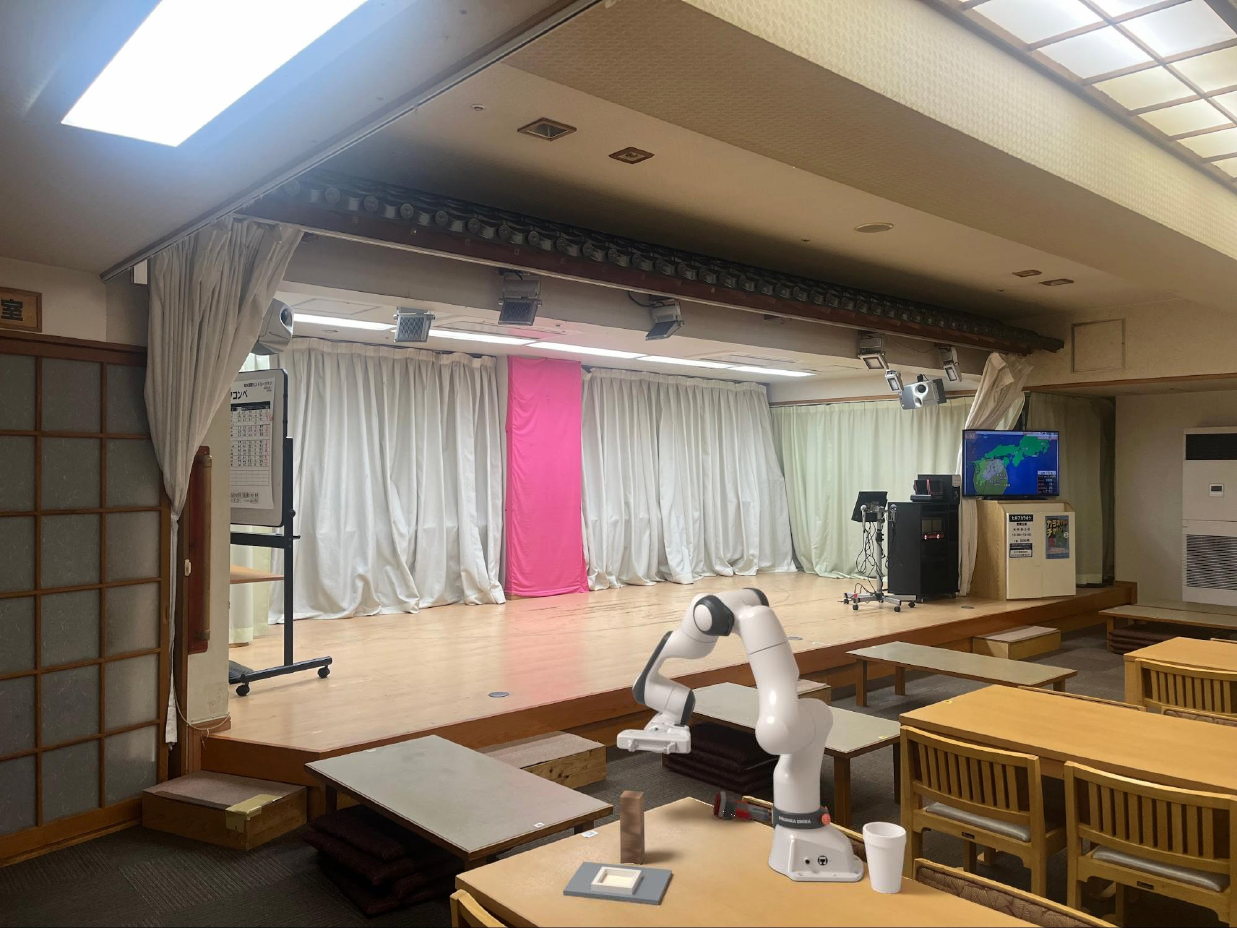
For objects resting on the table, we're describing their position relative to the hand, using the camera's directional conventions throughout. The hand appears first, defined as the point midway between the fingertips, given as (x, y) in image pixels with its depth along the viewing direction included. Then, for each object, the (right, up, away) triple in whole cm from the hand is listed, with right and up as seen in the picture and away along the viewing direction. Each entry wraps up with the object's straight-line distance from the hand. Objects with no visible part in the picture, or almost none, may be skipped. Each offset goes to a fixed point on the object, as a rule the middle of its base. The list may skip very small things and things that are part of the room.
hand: (648, 749), depth 227 cm
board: (-8, -22, -28) cm, 36 cm away
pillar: (-4, -23, -15) cm, 27 cm away
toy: (+26, -24, +13) cm, 38 cm away
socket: (-8, -22, -30) cm, 38 cm away
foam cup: (+53, -21, -31) cm, 65 cm away
